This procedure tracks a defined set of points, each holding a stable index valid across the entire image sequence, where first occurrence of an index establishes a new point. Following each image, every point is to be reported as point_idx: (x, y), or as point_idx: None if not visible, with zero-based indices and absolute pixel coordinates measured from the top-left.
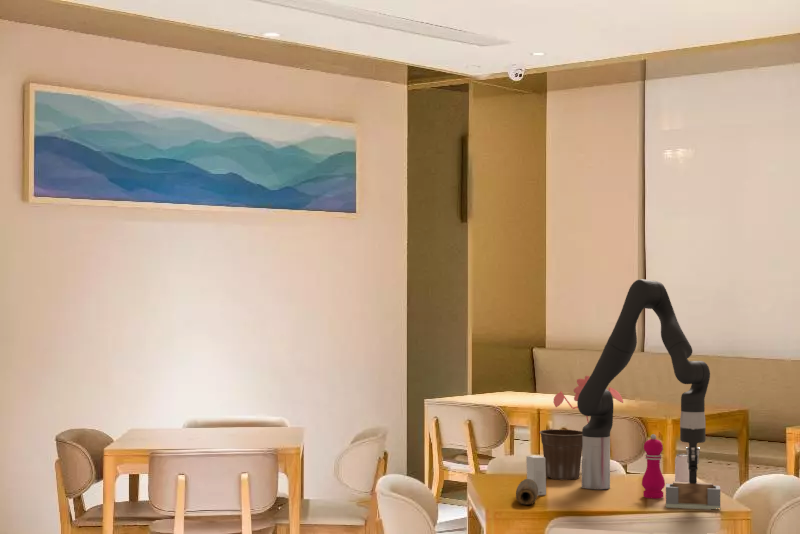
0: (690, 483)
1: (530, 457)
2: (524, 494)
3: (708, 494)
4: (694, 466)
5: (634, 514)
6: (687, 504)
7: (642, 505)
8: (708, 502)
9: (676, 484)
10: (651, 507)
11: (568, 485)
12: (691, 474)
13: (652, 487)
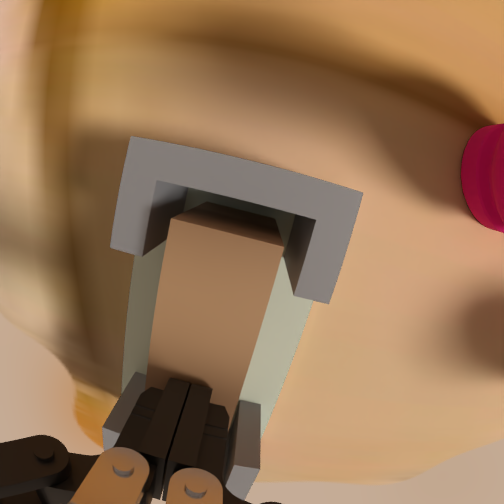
0: (164, 377)
1: None
2: None
3: (113, 409)
4: (37, 493)
5: (21, 6)
6: (151, 278)
7: (235, 28)
8: (130, 383)
9: (166, 252)
10: (167, 65)
11: None
12: (124, 434)
13: (495, 150)
